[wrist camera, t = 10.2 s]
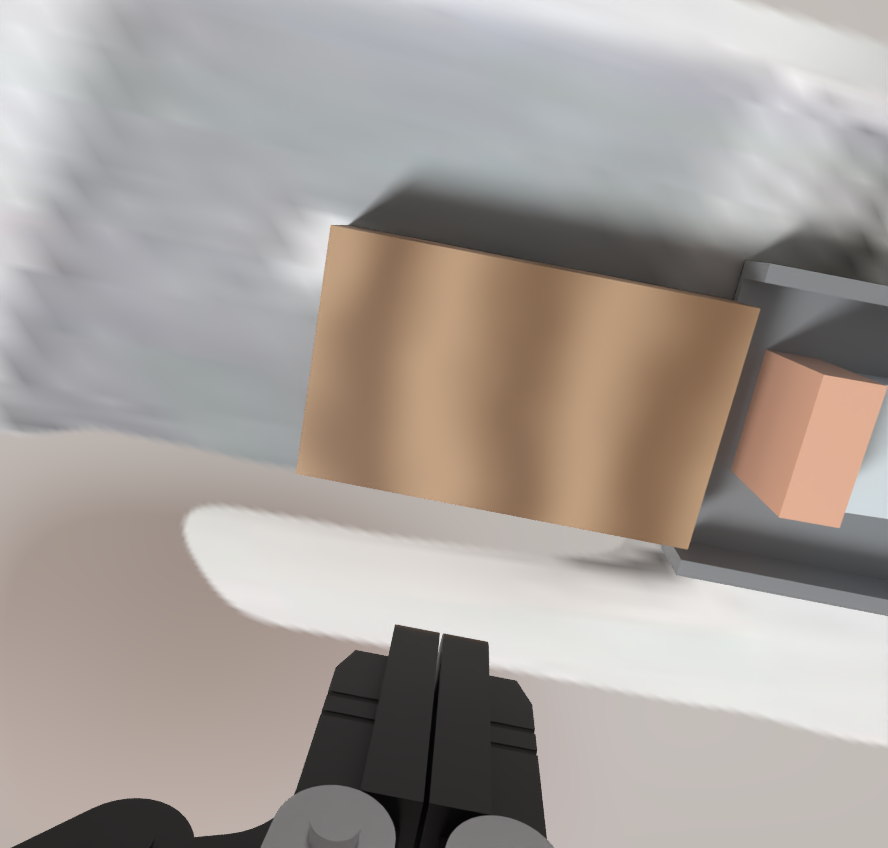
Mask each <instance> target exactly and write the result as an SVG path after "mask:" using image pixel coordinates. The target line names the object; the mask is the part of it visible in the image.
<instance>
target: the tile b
mask: <svg viewBox="0 0 888 848" xmlns="http://www.w3.org/2000/svg"><path fill="white" fill-rule="evenodd" d="M856 374H857V373H856ZM858 375H861V376H863V377H866V378H869V379H871V380H874V381H876V382H879V383H881V384H884V385H886V386H888V378H884V377H877V376H870V375H864V374H858ZM845 513H852V514H858V515H865V516H871V517H878V518H885V519H888V388H887V390H886V393H885V396H884V399H883V402H882V405H881V408H880V411H879V414H878V417H877V420H876V423H875V426H874V429H873V432H872V434H871V437H870V440H869V443H868V446H867V449H866V452H865V455H864V458H863V461H862V464H861V467H860V470H859V473H858V476H857V478H856V481H855V484H854V487H853V490H852V493H851V496H850V499H849V502H848V505H847V508H846V511H845Z"/></svg>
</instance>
